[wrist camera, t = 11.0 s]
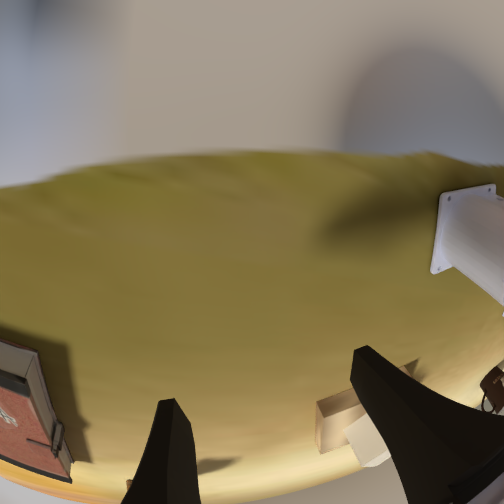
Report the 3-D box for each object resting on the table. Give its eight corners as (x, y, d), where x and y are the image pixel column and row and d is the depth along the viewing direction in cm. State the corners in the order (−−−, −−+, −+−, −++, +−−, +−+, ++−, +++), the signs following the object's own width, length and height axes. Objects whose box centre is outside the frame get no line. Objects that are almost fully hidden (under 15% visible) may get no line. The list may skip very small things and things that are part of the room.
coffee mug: (504, 360, 48) (525, 384, 39) (485, 385, 51) (504, 409, 42) (487, 367, 44) (511, 395, 36) (465, 394, 48) (487, 423, 39)
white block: (370, 409, 30) (392, 446, 25) (383, 414, 32) (403, 447, 26) (342, 430, 31) (361, 466, 25) (358, 433, 33) (375, 466, 27)
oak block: (401, 362, 32) (413, 378, 29) (385, 409, 37) (393, 423, 35) (314, 398, 30) (323, 418, 28) (313, 438, 36) (320, 454, 33)
